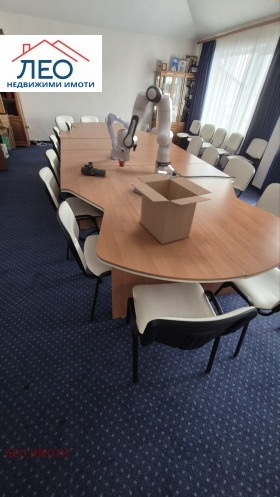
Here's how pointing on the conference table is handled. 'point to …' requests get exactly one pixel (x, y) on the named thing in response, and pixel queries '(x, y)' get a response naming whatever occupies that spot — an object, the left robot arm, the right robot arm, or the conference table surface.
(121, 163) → the canister
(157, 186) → the box
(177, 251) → the conference table surface
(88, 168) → the laser sight
